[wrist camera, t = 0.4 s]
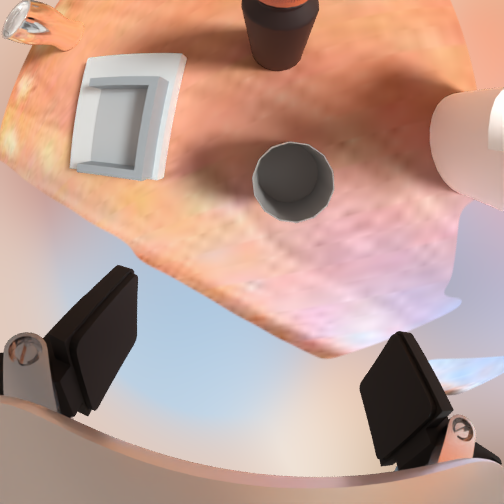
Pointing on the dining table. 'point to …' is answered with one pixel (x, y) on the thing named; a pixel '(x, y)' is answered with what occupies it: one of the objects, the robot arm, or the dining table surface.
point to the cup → (293, 182)
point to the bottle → (279, 30)
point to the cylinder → (471, 144)
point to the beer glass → (41, 26)
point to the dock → (126, 114)
